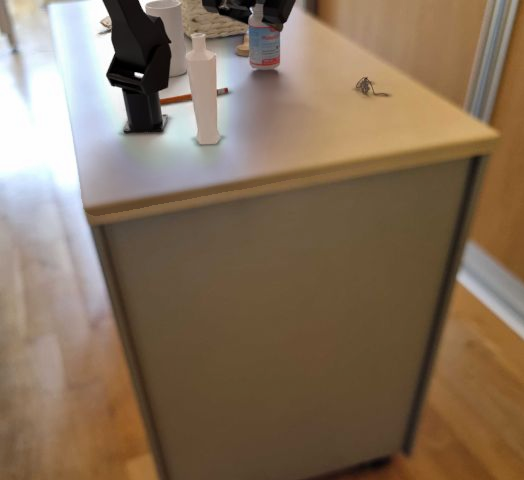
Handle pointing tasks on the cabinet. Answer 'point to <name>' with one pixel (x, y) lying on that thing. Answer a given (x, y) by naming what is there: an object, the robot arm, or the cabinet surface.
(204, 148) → the cabinet surface
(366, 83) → the pendant
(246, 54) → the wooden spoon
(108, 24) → the butterfly
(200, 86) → the perfume bottle
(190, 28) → the basket
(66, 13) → the cabinet surface
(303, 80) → the cabinet surface
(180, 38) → the mug
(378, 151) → the cabinet surface
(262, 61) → the pill bottle
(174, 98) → the pencil
